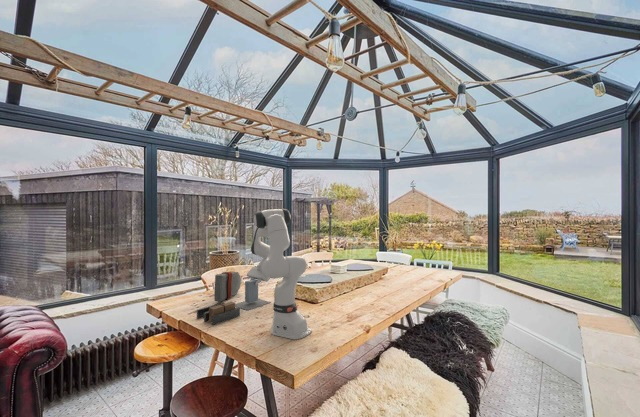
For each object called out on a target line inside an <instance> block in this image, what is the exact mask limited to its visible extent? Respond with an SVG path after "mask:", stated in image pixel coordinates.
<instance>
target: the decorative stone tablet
mask: <svg viewBox="0 0 640 417" xmlns="http://www.w3.org/2000/svg"><path fill="white" fill-rule="evenodd" d="M214 277H215V278H214V290H213V291H214V296H213V297H214V298H213V299H214V302H223V301H228V300H230V299H231V298H232V297H234V296H236V295H237V294H238V292H239V291H240V289H241V286H242V285H241V284H242V278H241V275H240V273H239V271H233V270H232V271H231V270H229V271H222V272H221V273H218V274H217V273H216V274H215V275H214Z"/></svg>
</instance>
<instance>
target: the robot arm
mask: <svg viewBox="0 0 640 417" xmlns="http://www.w3.org/2000/svg"><path fill="white" fill-rule="evenodd" d="M291 216H292V215H291V213H290V211H289V210H288V209H286V208H281V209H279V208H276V209H275V208H274V209H266V210H258V211H256V212H255V213H254V215H253V223H254V225H255V227H256V229H255V231H254V236H253V240H252V244H251V247H250V251H251V253H252V254H253V255H254V256H258V257H260V258H262V259H261V260H260V261H259V262H258V264H257V266H256V265H255V266H253V267H251V268H250V269H249V271H248V272H247V273H246V276H247V277H248V278H249V280H253V279H256V280H258V281H257V282H255V283H254V284H255V285H258V286H259V284H260V283H261V282H266V283H267V282H268V281H269V280H270V279H272V280H273V279H281V278H282V280H281V281H280V282H279V283H278V284H277V285H276V286H275V287H274V291H273V294H274V295H273V298H274V301H273V306H272V309H273V316H272V324H271V328H270V335H273V336H278V337H282V338H286V339H290V340H299V339H303V338H305V337H307V336H309V335H310V334H311V333H312V332H313V330H312V329H313V328H310V327H308V322H307V319H306V318H305V317H304V316H303V315H302V313H301V312H300V311H299V310H298V307H299V304H297V302H296V301H295V300H296V288H297V284H298V281H299V279H300V278H301V276H302V275H303V274H304V273H305V272H306V270H307V268H308V267H307V266H308V265H307V261H306V259H305V257H304V256H302V255H288V256H287V255H285V256H284V251H287V250H288V249H289V247H290V245H291V240H290V235H289V230H288V227H287V226H288V225H290V223H291V219H292V218H291ZM262 238H268V240H269V244H266V243H265V242H263V241H262Z"/></svg>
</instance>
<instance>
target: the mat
mask: <svg viewBox="0 0 640 417" xmlns="http://www.w3.org/2000/svg"><path fill="white" fill-rule="evenodd" d="M270 303H272V302H271V301H268V300H265V299H261V298H258V301H254V302H251V303H246V302H245V300H243V301H241V302H237V303H235V308H238V307H239V308H240V310H241V309H242V310H245V311H249V310H253V309H256V308H260V307H262V306H264V305H268V304H270Z"/></svg>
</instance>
